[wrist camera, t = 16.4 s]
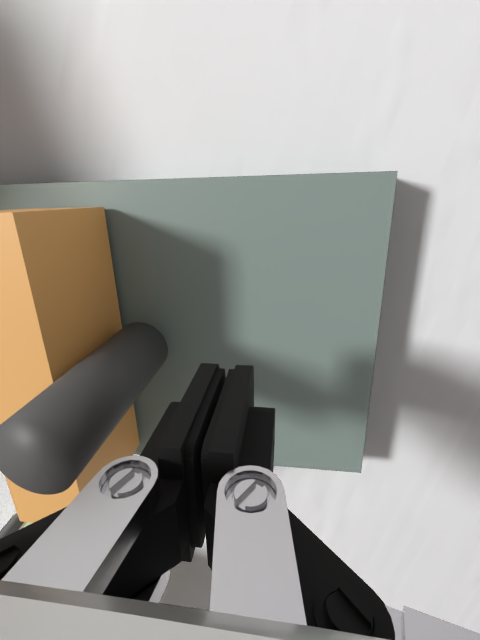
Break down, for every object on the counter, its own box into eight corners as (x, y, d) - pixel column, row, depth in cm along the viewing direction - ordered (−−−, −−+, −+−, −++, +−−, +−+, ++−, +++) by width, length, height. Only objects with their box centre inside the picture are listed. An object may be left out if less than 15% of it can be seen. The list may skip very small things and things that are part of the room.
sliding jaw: (183, 447, 18) (111, 615, 11) (87, 439, 19) (-40, 592, 11) (159, 205, 14) (18, 216, 7) (37, 208, 15) (-208, 220, 7)
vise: (354, 445, 19) (389, 583, 12) (-104, 412, 23) (-267, 503, 16) (383, 174, 14) (467, 154, 8) (-198, 193, 18) (-481, 192, 12)
